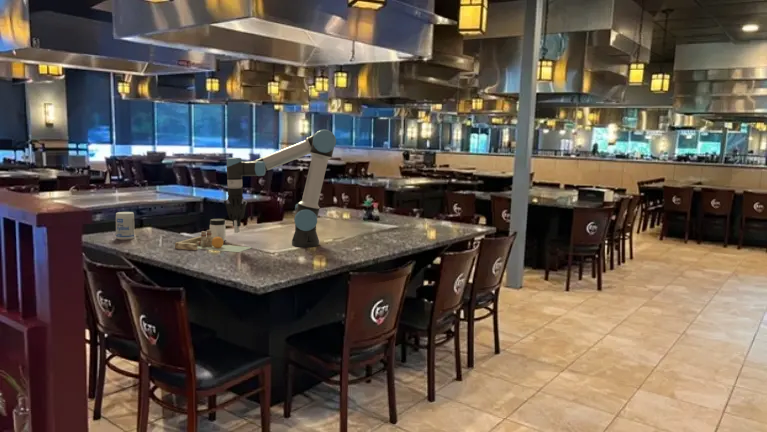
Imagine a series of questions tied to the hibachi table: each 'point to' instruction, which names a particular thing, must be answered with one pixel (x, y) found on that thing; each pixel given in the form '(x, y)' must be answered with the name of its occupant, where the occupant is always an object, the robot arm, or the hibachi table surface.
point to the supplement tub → (124, 225)
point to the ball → (217, 242)
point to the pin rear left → (203, 238)
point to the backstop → (189, 243)
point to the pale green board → (226, 248)
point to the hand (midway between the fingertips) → (237, 232)
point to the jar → (218, 228)
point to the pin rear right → (208, 235)
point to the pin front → (208, 244)
